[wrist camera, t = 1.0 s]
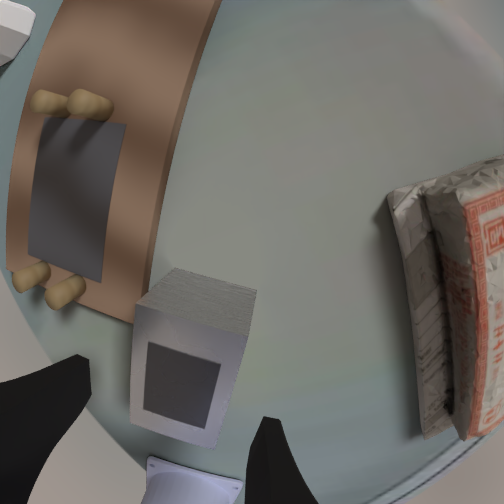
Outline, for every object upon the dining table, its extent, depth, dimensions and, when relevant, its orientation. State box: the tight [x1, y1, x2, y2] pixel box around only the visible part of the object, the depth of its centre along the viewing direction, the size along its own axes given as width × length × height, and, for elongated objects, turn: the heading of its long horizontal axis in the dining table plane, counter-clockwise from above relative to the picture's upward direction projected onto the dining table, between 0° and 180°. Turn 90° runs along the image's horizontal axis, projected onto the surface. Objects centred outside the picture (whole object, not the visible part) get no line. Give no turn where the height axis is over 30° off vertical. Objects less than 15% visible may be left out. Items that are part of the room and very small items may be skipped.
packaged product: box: [387, 154, 504, 441], centre depth 13 cm, size 18×5×10 cm
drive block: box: [130, 268, 257, 450], centre depth 14 cm, size 7×4×5 cm, turn 166°
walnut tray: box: [6, 0, 222, 324], centre depth 12 cm, size 20×11×4 cm, turn 166°
